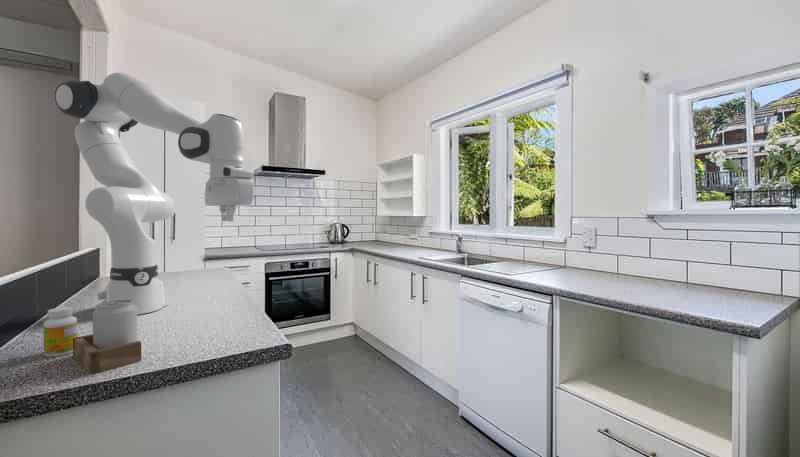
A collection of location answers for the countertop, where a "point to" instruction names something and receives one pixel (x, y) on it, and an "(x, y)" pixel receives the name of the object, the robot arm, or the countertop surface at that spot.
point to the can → (114, 323)
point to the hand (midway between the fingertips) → (227, 221)
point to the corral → (104, 354)
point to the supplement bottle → (59, 332)
